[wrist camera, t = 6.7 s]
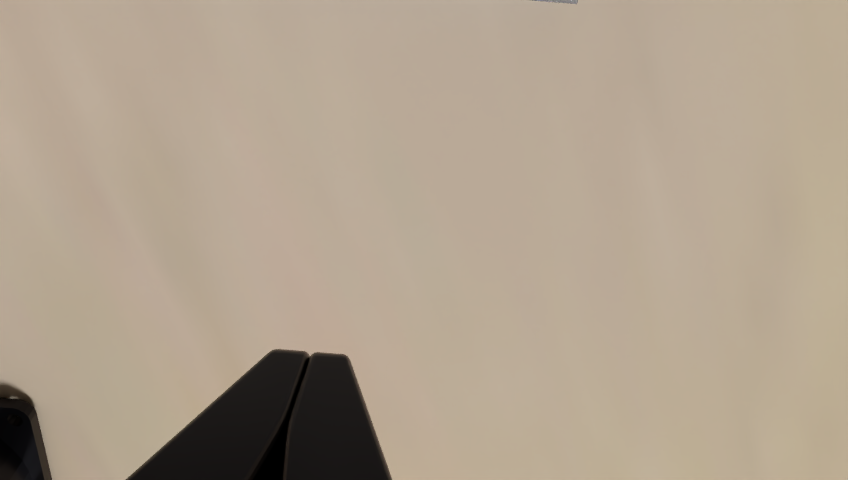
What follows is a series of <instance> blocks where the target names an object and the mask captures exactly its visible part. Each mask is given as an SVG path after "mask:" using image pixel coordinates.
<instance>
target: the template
mask: <svg viewBox="0 0 848 480" xmlns="http://www.w3.org/2000/svg"><path fill="white" fill-rule="evenodd" d="M534 1H546V2H559V3H571V4H577V2H578V0H534Z"/></svg>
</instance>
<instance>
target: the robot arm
mask: <svg viewBox="0 0 848 480" xmlns="http://www.w3.org/2000/svg"><path fill="white" fill-rule="evenodd" d="M17 415H18V416H19V417H18V416H17ZM0 480H52V478H51V473H50V469H49V465H48V460H47V456H46V452H45V447H44V443H43V439H42V435H41V430H40V426H39V422H38V417H37V413H36V411H35V409H34V407H33V406H32V405H31V404H29V403H27V402H25V401H23V400H18V399H6V398H0ZM126 480H392V478H391V475H390V472H389V469H388V466H387V464H386V461H385V458H384V455H383V452H382V449H381V447H380V444H379V441H378V438H377V435H376V432H375V430H374V427H373V424H372V421H371V418H370V415H369V413H368V410H367V407H366V404H365V401H364V398H363V396H362V393H361V390H360V387H359V384H358V381H357V379H356V376H355V373H354V370H353V367H352V364H351V362H350V359H349V358H348V356H346V355H344V354H333V353H320V352H316V353H314V354H312V355H311V356H309V354H308V353H307V352H305V351H295V350H282V349H276V350H272V351H270V352H269V353H268V354H267V355H266V356H264V357H263V358H262V359H261V360H260V361H259V362H258V363H257V364H255V365H254V366H253V367H252V368H251V369H250V370H249V371H248V372H246V373H245V374H244V375H243V376H242V377H241V378H240V379H239V380H237V381H236V382H235V383H234V384H233V385H232V386H231V387H230V388H228V389H227V390H226V391H225V392H224V393H223V394H222V395H221V396H219V397H218V398H217V399H216V400H215V401H214V402H213V403H212V404H210V405H209V406H208V407H207V408H206V409H205V410H204V411H203V412H201V413H200V414H199V415H198V416H197V417H196V418H195V419H194V420H192V421H191V422H190V423H189V424H188V425H187V426H186V427H185V428H183V429H182V430H181V431H180V432H179V433H178V434H177V435H176V436H174V437H173V438H172V439H171V440H170V441H169V442H168V443H167V444H165V445H164V446H163V447H162V448H161V449H160V450H159V451H158V452H156V453H155V454H154V455H153V456H152V457H151V458H150V459H149V460H147V461H146V462H145V463H144V464H143V465H142V466H141V467H140V468H138V469H137V470H136V471H135V472H134V473H133V474H132V475H131V476H129V477H128V478H127V479H126Z"/></svg>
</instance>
